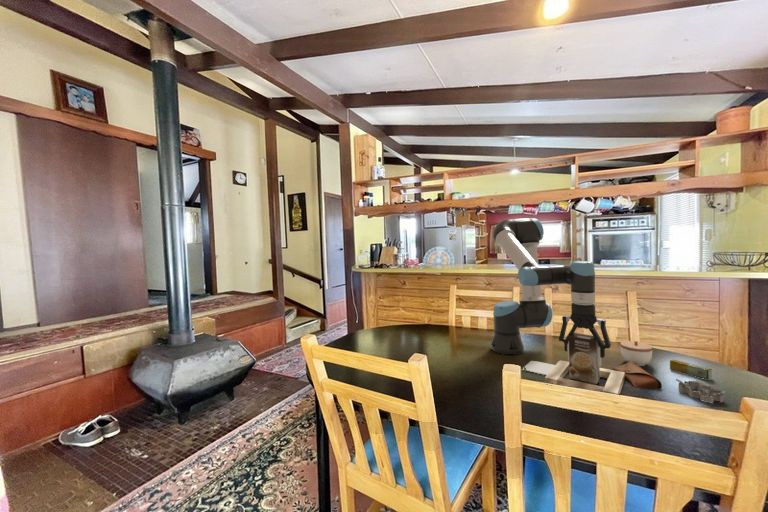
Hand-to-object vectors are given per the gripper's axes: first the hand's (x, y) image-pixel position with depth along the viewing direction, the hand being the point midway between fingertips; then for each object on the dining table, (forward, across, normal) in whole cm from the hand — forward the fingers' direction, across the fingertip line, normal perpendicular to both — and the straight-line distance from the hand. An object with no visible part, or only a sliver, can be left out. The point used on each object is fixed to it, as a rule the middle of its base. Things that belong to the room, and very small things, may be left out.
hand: (584, 362), depth 120 cm
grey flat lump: (+7, +31, +9) cm, 33 cm away
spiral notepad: (+7, -17, +3) cm, 18 cm away
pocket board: (+7, 0, 0) cm, 7 cm away
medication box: (+7, +30, +29) cm, 42 cm away
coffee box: (+6, 0, 0) cm, 6 cm away
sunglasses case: (+8, +14, +14) cm, 21 cm away
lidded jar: (+7, +13, +31) cm, 34 cm away
